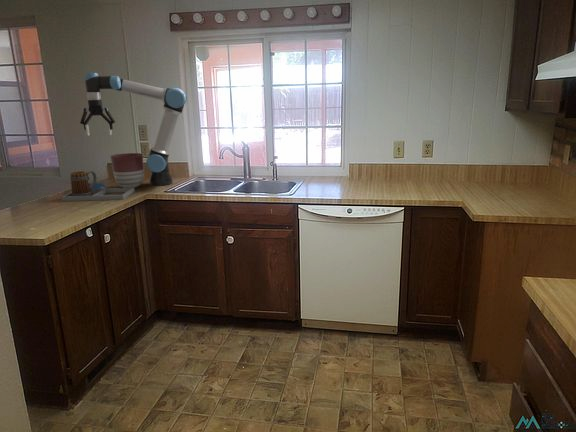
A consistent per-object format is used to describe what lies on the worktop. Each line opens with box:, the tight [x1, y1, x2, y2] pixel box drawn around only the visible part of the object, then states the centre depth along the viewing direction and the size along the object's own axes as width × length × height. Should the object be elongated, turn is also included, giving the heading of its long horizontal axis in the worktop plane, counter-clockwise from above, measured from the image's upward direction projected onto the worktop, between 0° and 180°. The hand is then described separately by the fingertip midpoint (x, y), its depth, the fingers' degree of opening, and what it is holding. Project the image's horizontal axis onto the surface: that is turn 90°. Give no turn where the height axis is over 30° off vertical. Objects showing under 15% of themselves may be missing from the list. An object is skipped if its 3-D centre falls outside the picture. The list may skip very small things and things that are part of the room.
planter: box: [110, 152, 145, 189], centre depth 275 cm, size 20×20×21 cm
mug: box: [69, 170, 97, 196], centre depth 254 cm, size 16×11×15 cm
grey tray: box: [60, 182, 135, 202], centre depth 255 cm, size 35×22×6 cm, turn 92°
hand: (99, 135), depth 263 cm, fingers open, 13 cm apart
